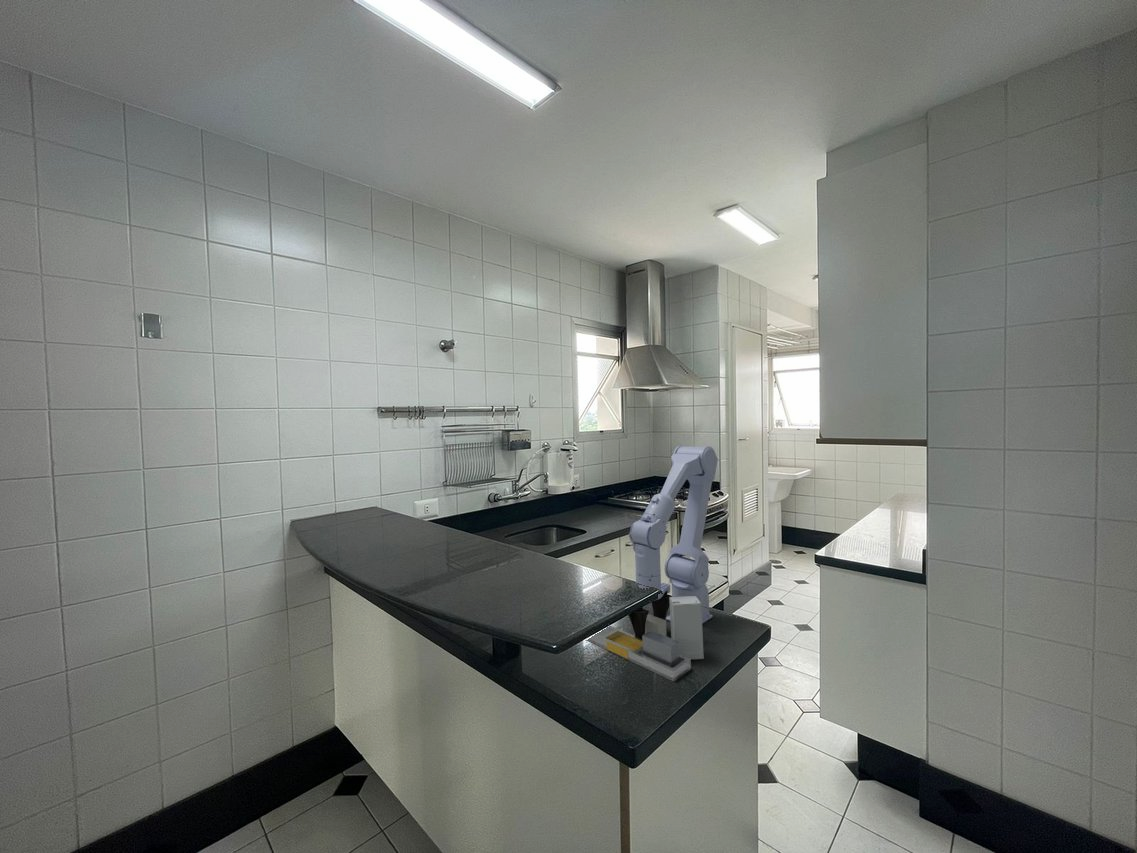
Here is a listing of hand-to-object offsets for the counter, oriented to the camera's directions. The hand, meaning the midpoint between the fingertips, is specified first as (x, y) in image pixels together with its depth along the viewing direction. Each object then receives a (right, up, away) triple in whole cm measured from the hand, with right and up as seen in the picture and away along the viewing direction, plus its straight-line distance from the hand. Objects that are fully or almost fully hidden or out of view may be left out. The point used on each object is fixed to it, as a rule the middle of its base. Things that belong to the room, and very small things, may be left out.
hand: (649, 631), depth 101 cm
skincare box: (+7, -2, -8) cm, 10 cm away
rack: (-6, -2, -4) cm, 8 cm away
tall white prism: (0, -2, 0) cm, 2 cm away
